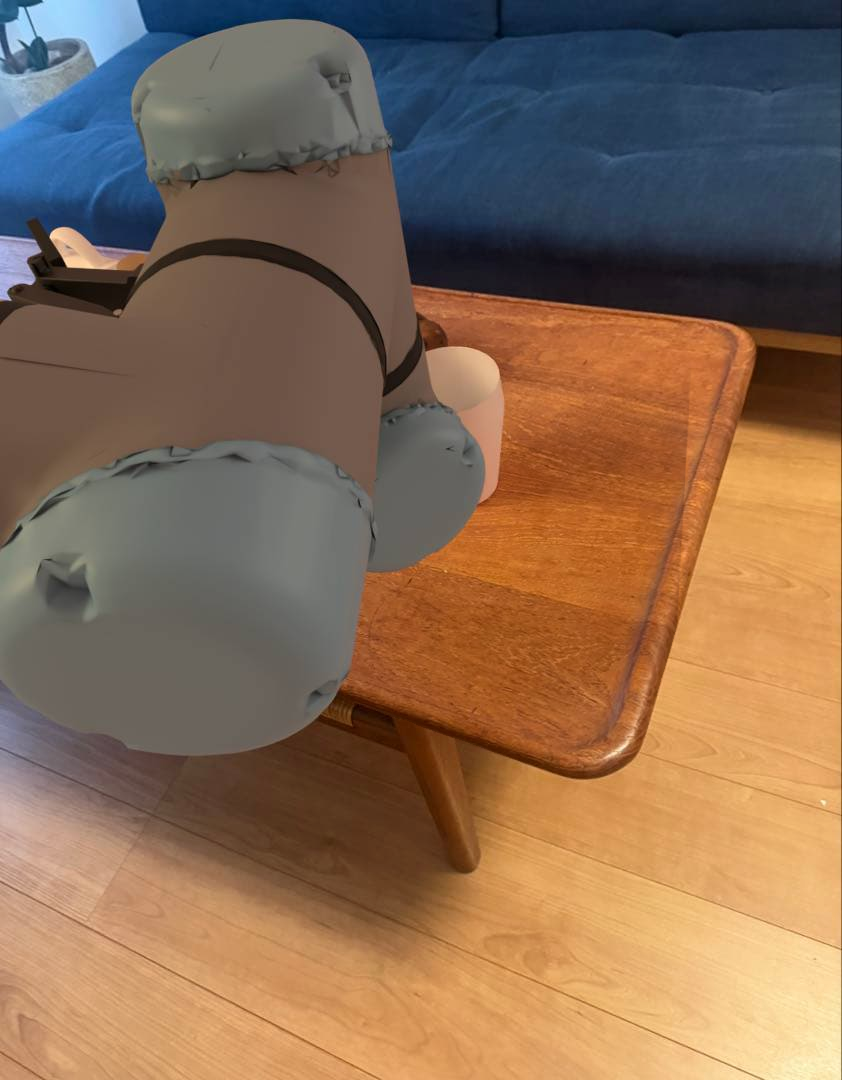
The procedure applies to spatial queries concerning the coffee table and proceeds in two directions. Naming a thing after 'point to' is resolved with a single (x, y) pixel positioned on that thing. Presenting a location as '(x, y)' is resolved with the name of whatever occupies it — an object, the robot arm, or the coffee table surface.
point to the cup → (472, 400)
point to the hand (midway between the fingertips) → (138, 199)
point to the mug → (79, 250)
